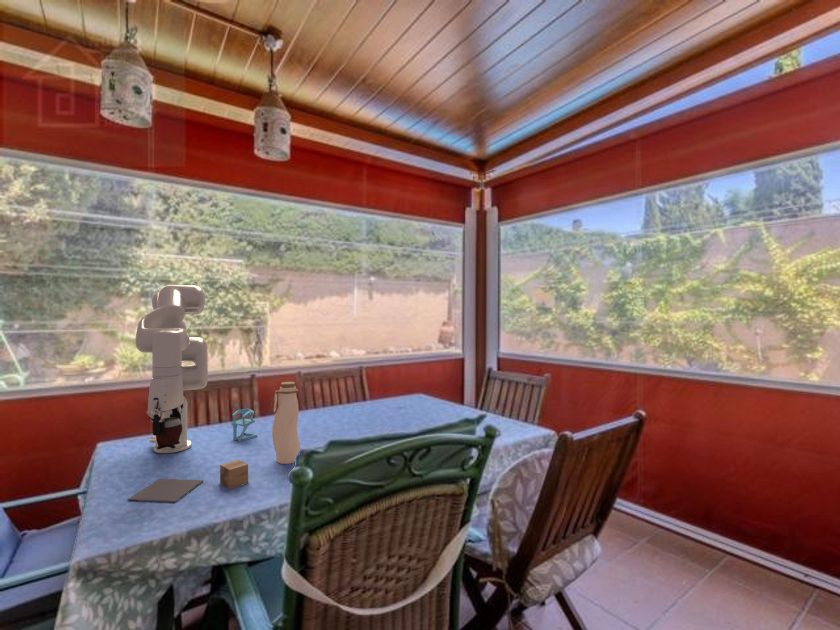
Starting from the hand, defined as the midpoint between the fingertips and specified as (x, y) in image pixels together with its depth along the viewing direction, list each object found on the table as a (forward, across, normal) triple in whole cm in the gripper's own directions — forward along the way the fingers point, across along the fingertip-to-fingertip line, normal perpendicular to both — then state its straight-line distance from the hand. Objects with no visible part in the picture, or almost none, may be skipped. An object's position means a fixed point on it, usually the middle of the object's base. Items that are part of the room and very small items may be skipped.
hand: (167, 430), depth 126 cm
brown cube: (+18, -7, +17) cm, 26 cm away
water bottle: (+18, -27, +26) cm, 42 cm away
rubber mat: (+18, 0, 0) cm, 18 cm away
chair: (+18, -49, 0) cm, 52 cm away
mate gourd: (+5, 0, 0) cm, 5 cm away
